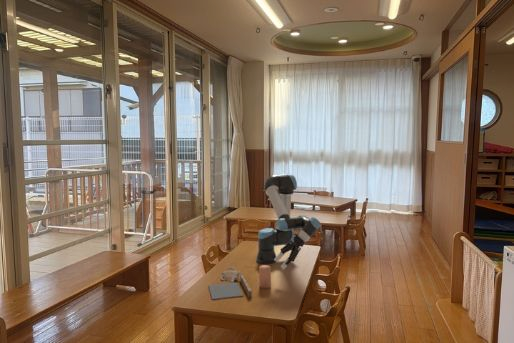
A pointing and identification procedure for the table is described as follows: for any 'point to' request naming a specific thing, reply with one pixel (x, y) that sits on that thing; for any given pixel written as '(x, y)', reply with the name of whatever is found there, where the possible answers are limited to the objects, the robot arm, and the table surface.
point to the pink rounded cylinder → (265, 276)
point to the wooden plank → (246, 286)
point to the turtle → (230, 274)
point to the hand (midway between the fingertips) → (278, 264)
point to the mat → (225, 291)
